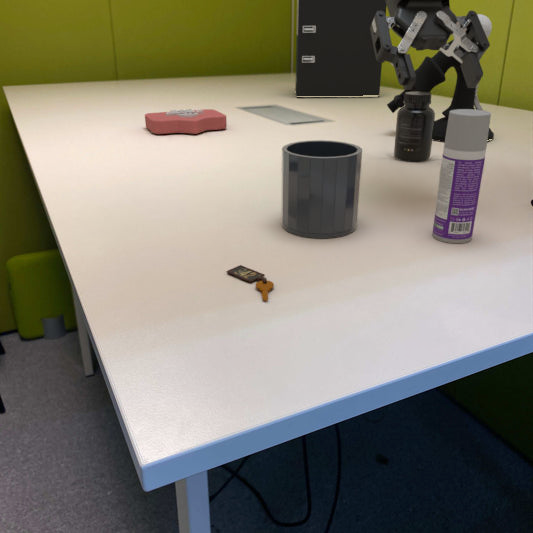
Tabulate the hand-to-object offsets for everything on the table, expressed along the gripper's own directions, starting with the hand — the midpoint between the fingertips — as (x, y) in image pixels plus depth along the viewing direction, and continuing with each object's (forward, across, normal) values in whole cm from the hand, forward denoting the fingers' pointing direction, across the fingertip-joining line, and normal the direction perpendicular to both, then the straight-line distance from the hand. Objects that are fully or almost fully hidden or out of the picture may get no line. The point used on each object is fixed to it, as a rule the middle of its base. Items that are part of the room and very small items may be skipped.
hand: (443, 84), depth 67 cm
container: (+17, 0, +8) cm, 19 cm away
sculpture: (-23, +28, +48) cm, 60 cm away
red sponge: (-38, -26, +62) cm, 77 cm away
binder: (-73, +28, +98) cm, 125 cm away
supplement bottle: (-10, +13, +35) cm, 39 cm away
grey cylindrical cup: (+12, -15, +13) cm, 23 cm away
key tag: (+22, -27, +2) cm, 35 cm away
